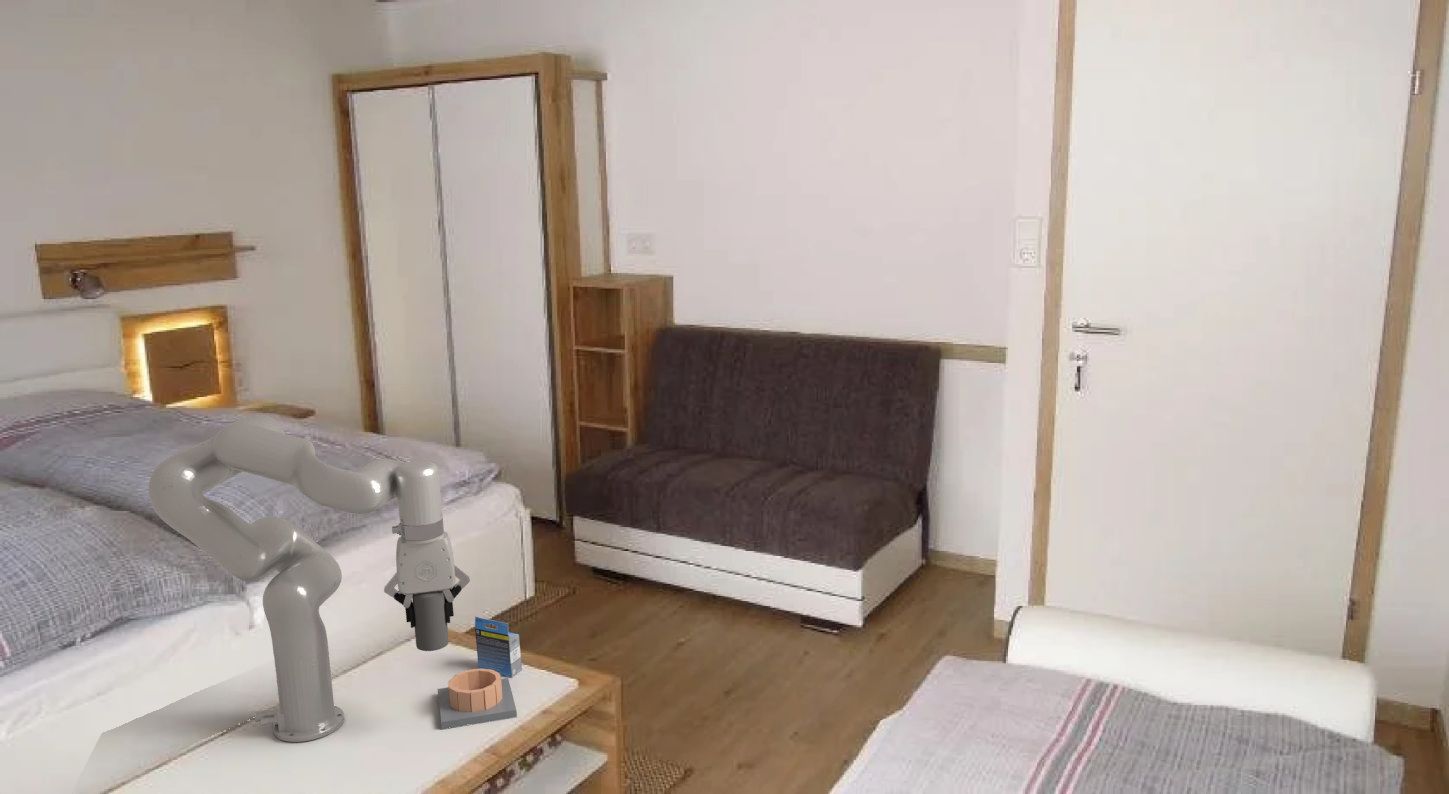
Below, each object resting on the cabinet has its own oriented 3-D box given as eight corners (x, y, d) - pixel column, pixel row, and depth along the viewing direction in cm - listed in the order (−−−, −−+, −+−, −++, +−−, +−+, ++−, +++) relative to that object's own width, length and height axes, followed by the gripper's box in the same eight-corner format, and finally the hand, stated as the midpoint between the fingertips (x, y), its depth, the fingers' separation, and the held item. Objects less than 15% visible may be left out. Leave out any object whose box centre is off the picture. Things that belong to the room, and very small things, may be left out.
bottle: (453, 638, 197) (448, 563, 194) (441, 652, 192) (435, 574, 189) (424, 637, 198) (418, 562, 195) (410, 650, 192) (404, 573, 189)
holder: (441, 729, 198) (439, 702, 197) (438, 695, 211) (436, 670, 210) (516, 717, 202) (515, 690, 201) (508, 684, 215) (506, 659, 214)
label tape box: (522, 670, 221) (519, 616, 219) (511, 679, 218) (507, 623, 215) (488, 663, 225) (485, 609, 223) (476, 671, 222) (473, 616, 219)
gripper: (371, 541, 185) (381, 637, 188) (471, 530, 189) (479, 624, 193) (373, 528, 192) (382, 621, 195) (470, 518, 196) (477, 608, 200)
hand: (430, 621), depth 194 cm, fingers closed on bottle, 5 cm apart
